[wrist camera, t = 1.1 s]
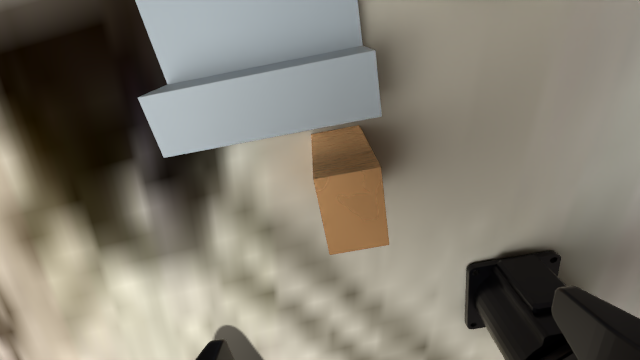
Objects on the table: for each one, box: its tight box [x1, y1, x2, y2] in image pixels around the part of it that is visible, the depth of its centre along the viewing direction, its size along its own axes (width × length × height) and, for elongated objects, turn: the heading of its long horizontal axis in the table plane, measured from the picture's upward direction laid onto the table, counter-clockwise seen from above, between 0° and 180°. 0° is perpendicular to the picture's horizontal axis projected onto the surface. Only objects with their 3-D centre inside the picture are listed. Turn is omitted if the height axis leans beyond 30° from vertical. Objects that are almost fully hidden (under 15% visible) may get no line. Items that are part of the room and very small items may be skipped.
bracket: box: [135, 0, 382, 158], centre depth 14 cm, size 11×10×4 cm
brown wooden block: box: [311, 125, 389, 255], centre depth 17 cm, size 4×3×6 cm
